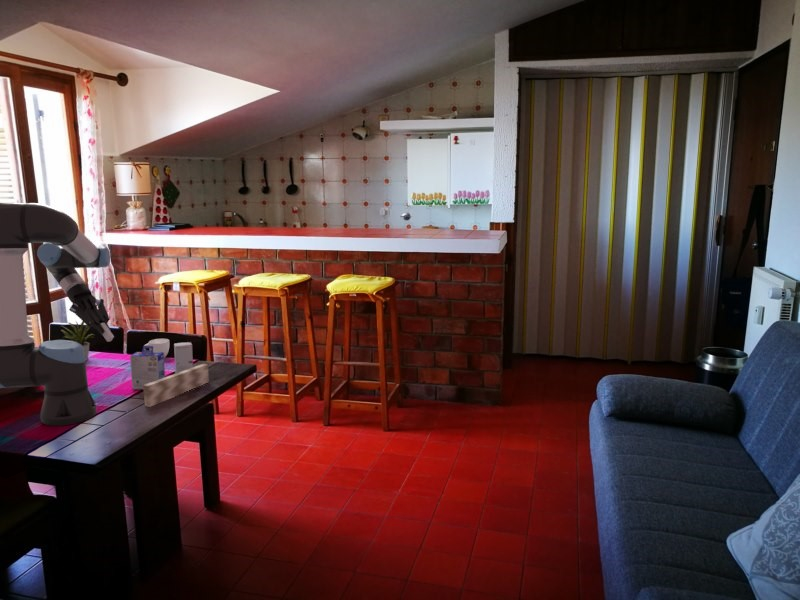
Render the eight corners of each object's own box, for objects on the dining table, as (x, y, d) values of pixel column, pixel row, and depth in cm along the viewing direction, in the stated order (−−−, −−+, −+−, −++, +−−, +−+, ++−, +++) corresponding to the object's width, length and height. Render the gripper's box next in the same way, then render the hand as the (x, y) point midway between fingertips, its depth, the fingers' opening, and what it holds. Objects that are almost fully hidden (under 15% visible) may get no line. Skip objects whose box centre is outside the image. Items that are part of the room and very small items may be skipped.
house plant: (98, 351, 254) (95, 313, 251) (107, 359, 244) (104, 319, 241) (60, 357, 245) (56, 318, 242) (68, 366, 235) (63, 325, 232)
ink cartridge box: (166, 384, 216) (164, 345, 213) (160, 390, 210) (157, 349, 207) (139, 384, 216) (135, 344, 213) (132, 389, 210) (128, 349, 207)
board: (149, 407, 195) (147, 386, 193) (144, 405, 196) (143, 385, 194) (208, 383, 217) (207, 364, 216) (204, 382, 218) (203, 363, 217)
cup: (170, 358, 246) (169, 342, 244) (143, 361, 242) (142, 345, 241) (170, 353, 253) (169, 337, 251) (144, 356, 249) (142, 340, 248)
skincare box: (176, 378, 222) (174, 346, 220) (175, 374, 226) (173, 343, 224) (194, 376, 225) (192, 344, 222) (192, 372, 229) (190, 341, 226)
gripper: (87, 292, 230) (121, 341, 226) (55, 298, 219) (90, 349, 215) (96, 279, 227) (130, 329, 223) (63, 285, 215) (98, 337, 211)
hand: (110, 339), depth 219 cm, fingers closed
